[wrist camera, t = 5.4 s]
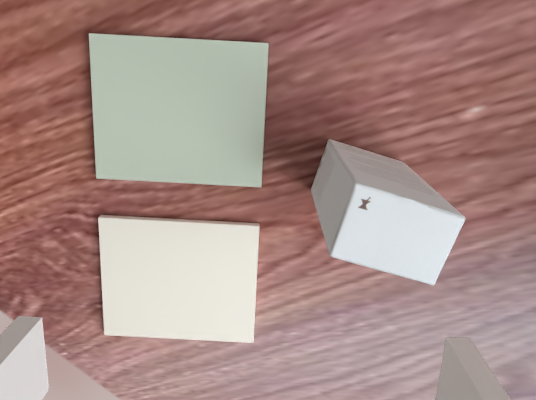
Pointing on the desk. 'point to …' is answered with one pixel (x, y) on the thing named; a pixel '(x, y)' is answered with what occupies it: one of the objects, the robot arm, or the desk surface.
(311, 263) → the desk surface
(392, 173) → the skincare box
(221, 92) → the shorter pad
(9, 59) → the desk surface
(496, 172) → the desk surface
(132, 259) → the taller pad
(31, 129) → the desk surface
